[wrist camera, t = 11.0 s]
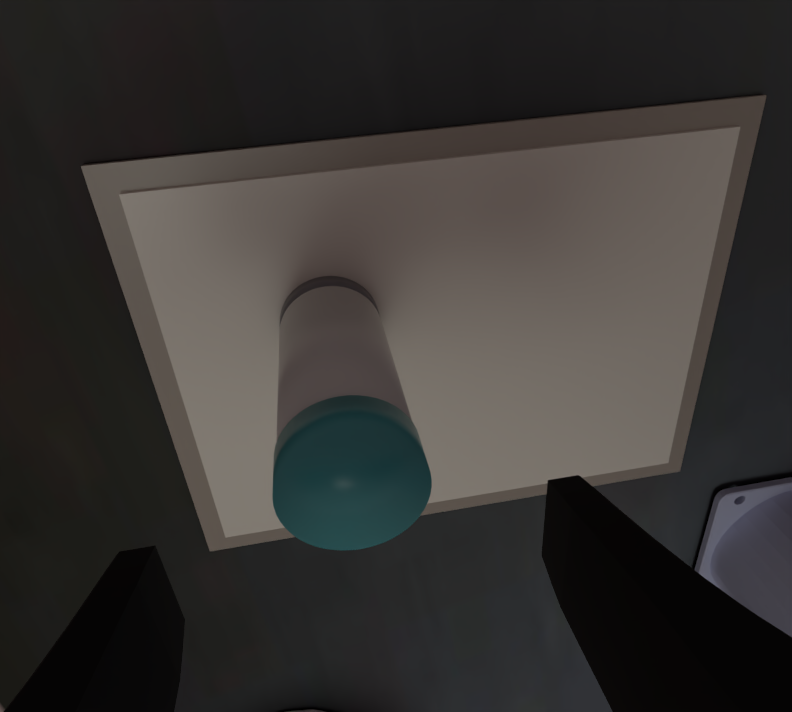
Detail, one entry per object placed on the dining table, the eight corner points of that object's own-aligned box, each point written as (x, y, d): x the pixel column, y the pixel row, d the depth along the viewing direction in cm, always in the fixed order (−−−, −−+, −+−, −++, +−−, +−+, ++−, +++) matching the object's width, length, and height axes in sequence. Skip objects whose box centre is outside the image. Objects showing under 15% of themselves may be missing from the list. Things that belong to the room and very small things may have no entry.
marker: (374, 267, 18) (426, 416, 11) (385, 357, 20) (436, 535, 13) (268, 282, 18) (257, 445, 11) (288, 372, 20) (288, 562, 13)
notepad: (762, 94, 18) (771, 96, 18) (677, 468, 26) (682, 474, 25) (83, 164, 16) (78, 167, 16) (210, 547, 24) (209, 555, 23)
